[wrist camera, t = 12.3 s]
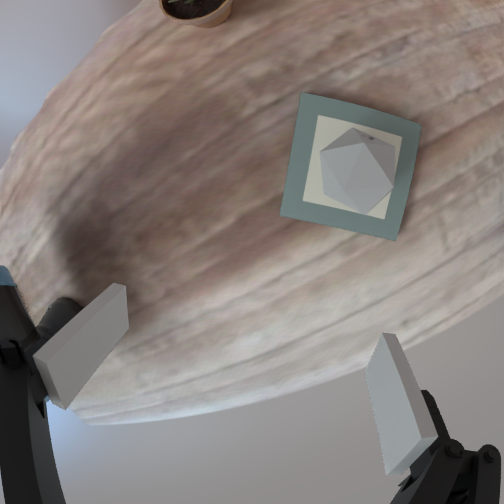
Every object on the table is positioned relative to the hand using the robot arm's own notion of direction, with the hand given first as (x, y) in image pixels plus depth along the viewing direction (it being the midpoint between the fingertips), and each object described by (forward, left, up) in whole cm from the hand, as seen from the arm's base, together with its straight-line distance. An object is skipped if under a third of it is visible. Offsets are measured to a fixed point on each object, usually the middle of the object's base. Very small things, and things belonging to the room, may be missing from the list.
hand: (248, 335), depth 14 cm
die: (+8, +8, -25) cm, 28 cm away
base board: (+8, +8, -27) cm, 29 cm away
